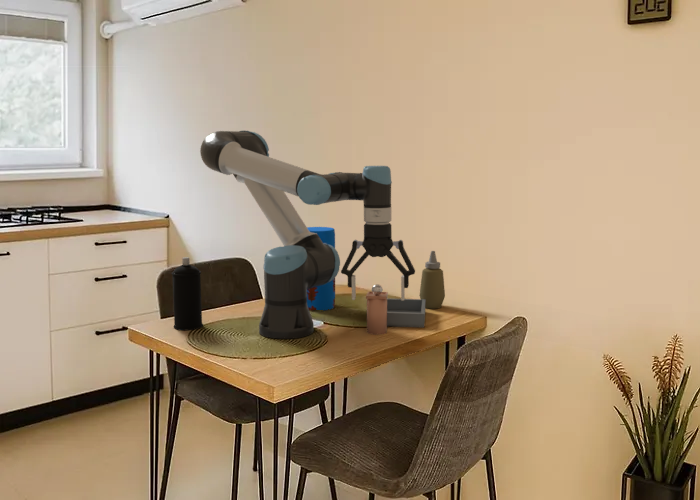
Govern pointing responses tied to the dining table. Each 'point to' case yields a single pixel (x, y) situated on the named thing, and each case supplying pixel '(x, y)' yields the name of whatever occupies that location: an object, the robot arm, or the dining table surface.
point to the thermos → (325, 294)
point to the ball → (377, 289)
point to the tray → (406, 312)
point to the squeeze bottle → (432, 283)
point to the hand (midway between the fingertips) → (378, 299)
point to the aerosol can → (187, 297)
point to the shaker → (377, 313)
